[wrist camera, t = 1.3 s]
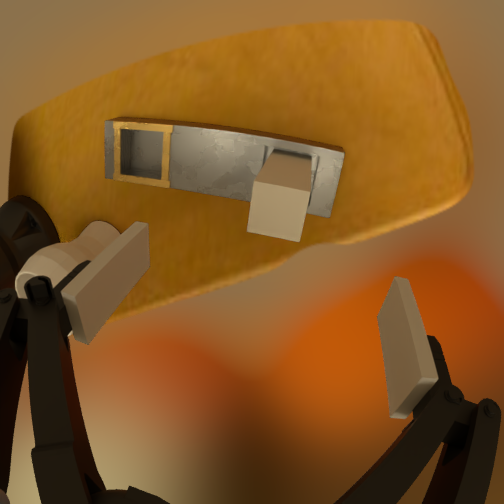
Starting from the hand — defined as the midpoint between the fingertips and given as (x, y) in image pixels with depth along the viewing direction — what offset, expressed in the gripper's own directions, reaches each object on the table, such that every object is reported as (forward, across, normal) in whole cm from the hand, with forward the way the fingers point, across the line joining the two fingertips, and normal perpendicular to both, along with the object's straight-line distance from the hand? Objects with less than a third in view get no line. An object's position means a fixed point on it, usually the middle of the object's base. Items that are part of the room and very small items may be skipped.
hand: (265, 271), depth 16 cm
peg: (+20, 0, 0) cm, 20 cm away
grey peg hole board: (+20, -8, 0) cm, 22 cm away
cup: (+20, -24, -15) cm, 35 cm away
